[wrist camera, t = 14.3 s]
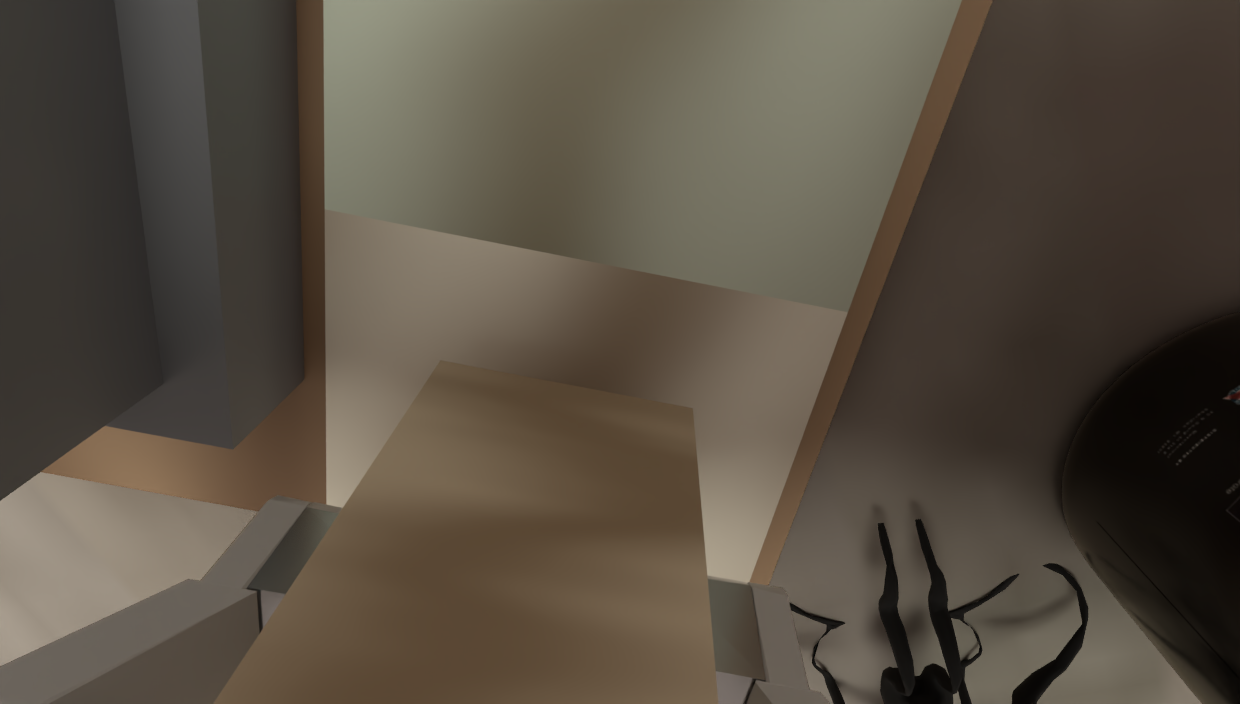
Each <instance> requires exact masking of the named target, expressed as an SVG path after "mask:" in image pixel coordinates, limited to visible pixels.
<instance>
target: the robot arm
mask: <svg viewBox="0 0 1240 704" xmlns="http://www.w3.org/2000/svg"><path fill="white" fill-rule="evenodd" d="M341 510H342V508H341V507H336V506H331V505H326V504H322V503H317V502H314V503H312V502H307V501H303V500H298V499H294V498H289V497H284V496H280V495H277V496H276V497H274V498H272V499H270V500H268V501H267V502H266V503H265V504H264V505H263V507H262V508H261V509H260V510H259V511H258V513H257V514H256V515H255V516H254V517H253V519H252V520H251V521H250V522H249V523H248V524H247V526H246V527H245V528H244V529H243V530H242V532H241V533H240V534H239V535H238V536H237V538H236V539H235V540H234V541H233V542H232V544H231V545H230V546H229V547H228V548H227V549H226V551H225V552H224V553H223V554H222V555H221V557H220V558H219V559H218V560H217V561H216V563H215V564H214V565H213V566H212V567H211V569H210V570H209V571H208V572H207V573H206V574H205V576H204V577H203V578H202V579H201V580H200V581H198V580H191V579H187V580H185V581H183V582H181V583H179V584H177V585H174V586H172V587H170V588H168V589H166V590H164V591H161V592H159V593H157V594H155V595H153V596H151V597H149V598H146V599H144V600H142V601H140V602H138V603H136V604H134V605H131V606H129V607H127V608H125V609H123V610H121V611H118V612H116V613H114V614H112V615H110V616H108V617H106V618H103V619H101V620H99V621H97V622H95V623H93V624H91V625H88V626H86V627H84V628H82V629H80V630H78V631H75V632H73V633H71V634H69V635H67V636H65V637H63V638H60V639H58V640H56V641H54V642H52V643H50V644H48V645H45V646H43V647H41V648H39V649H37V650H35V651H33V652H30V653H28V654H26V655H24V656H22V657H20V658H17V659H15V660H13V661H11V662H9V663H7V664H5V665H2V666H0V704H213V703H214V702H215V700H216V699H217V697H218V696H219V694H220V693H221V691H222V690H223V688H224V687H225V685H226V684H227V682H228V681H229V679H230V678H231V676H232V675H233V673H234V672H235V670H236V669H237V667H238V666H239V664H240V663H241V661H242V660H243V658H244V657H245V655H246V653H247V652H248V650H249V649H250V647H251V646H252V644H253V643H254V641H255V640H256V638H257V637H258V635H259V634H260V632H261V631H262V629H263V628H264V626H265V625H266V623H267V622H268V620H269V619H270V617H271V616H272V614H273V613H274V611H275V610H276V608H277V607H278V605H279V604H280V602H281V601H282V599H283V598H284V596H285V595H286V593H287V591H288V590H289V588H290V587H291V585H292V584H293V582H294V581H295V579H296V578H297V576H298V575H299V573H300V572H301V570H302V569H303V567H304V566H305V564H306V563H307V561H308V560H309V558H310V557H311V555H312V554H313V552H314V551H315V549H316V548H317V546H318V545H319V543H320V542H321V540H322V539H323V537H324V536H325V534H326V533H327V531H328V529H329V528H330V526H331V525H332V523H333V522H334V520H335V519H336V517H337V516H338V514H339V513H340V511H341ZM707 577H708V589H709V600H710V612H711V623H712V635H713V646H714V658H715V669H716V681H717V693H718V704H830V702H829V701H828V700H827V699H826V698H825V697H824V695H823V694H822V693H821V692H817V691H812V690H810V689H809V685H808V681H807V676H806V672H805V668H804V664H803V659H802V655H801V651H800V646H799V642H798V638H797V633H796V629H795V625H794V620H793V616H792V612H791V608H790V603H789V599H788V595H787V593H786V591H785V590H784V589H783V588H781V587H775V586H769V585H763V584H757V583H751V582H748V583H746V582H742V581H737V580H731V579H725V578H720V577H714V576H708V575H707Z"/></svg>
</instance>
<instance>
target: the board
mask: <svg viewBox="0 0 1240 704" xmlns="http://www.w3.org/2000/svg"><path fill="white" fill-rule="evenodd" d="M992 1H993V0H296V17H297V63H298V108H299V153H300V199H301V244H302V290H303V335H304V380H303V381H302V382H301V383H300V384H299V385H298V386H297V387H296V388H295V389H294V390H293V391H292V392H291V393H290V394H289V395H288V396H287V397H286V398H285V399H284V400H283V401H282V402H281V403H280V404H279V405H278V406H277V407H276V408H275V409H274V410H273V411H272V412H271V413H270V414H269V415H268V416H267V417H266V418H265V419H264V420H263V421H262V422H261V423H260V424H259V425H258V426H257V427H256V428H255V429H253V430H252V431H251V432H250V433H249V434H248V435H247V436H246V437H245V438H244V439H243V440H242V441H241V442H240V443H239V444H238V445H237V446H236V447H235V448H234V449H233V450H232V449H227V448H222V447H216V446H211V445H205V444H200V443H194V442H189V441H184V440H178V439H173V438H167V437H162V436H156V435H151V434H146V433H140V432H135V431H129V430H124V429H118V428H113V427H108V426H104V427H102V428H101V429H100V430H98V431H97V432H96V433H94V434H93V435H91V436H90V437H89V438H87V439H86V440H84V441H83V442H82V443H80V444H79V445H77V446H76V447H75V448H73V449H72V450H70V451H69V452H68V453H66V454H65V455H63V456H62V457H61V458H59V459H58V460H56V461H55V462H54V463H52V464H51V465H49V466H48V467H47V468H45V469H44V470H42V471H41V472H44V473H50V474H55V475H61V476H66V477H72V478H77V479H83V480H88V481H94V482H99V483H105V484H110V485H116V486H121V487H127V488H132V489H138V490H143V491H149V492H155V493H160V494H166V495H171V496H177V497H182V498H188V499H193V500H199V501H204V502H210V503H215V504H221V505H226V506H232V507H237V508H243V509H248V510H254V511H259V510H260V509H261V508H262V507H263V505H264V504H265V503H266V502H267V501H268V500H270V499H272V498H274V497H276V496H277V495H280V496H284V497H289V498H294V499H298V500H303V501H307V502H312V503H314V502H317V503H322V504H326V505H331V506H336V507H341V508H343V507H344V505H345V504H346V502H347V501H348V499H349V498H350V496H351V495H352V493H353V492H354V490H355V489H356V487H357V486H358V484H359V483H360V481H361V480H362V478H363V477H364V475H365V474H366V472H367V470H368V469H369V467H370V466H371V464H372V463H373V461H374V460H375V458H376V457H377V455H378V454H379V452H380V451H381V449H382V448H383V446H384V445H385V443H386V442H387V440H388V439H389V437H390V436H391V434H392V433H393V431H394V430H395V428H396V427H397V425H398V424H399V422H400V421H401V419H402V418H403V416H404V415H405V413H406V412H407V410H408V408H409V407H410V405H411V404H412V402H413V401H414V399H415V398H416V396H417V395H418V393H419V392H420V390H421V389H422V387H423V386H424V384H425V383H426V381H427V380H428V378H429V377H430V375H431V374H432V372H433V371H434V369H435V368H436V366H437V365H438V363H439V362H440V360H442V361H447V362H453V363H458V364H463V365H468V366H474V367H479V368H484V369H489V370H495V371H500V372H505V373H510V374H516V375H521V376H526V377H531V378H537V379H542V380H547V381H553V382H558V383H563V384H568V385H574V386H579V387H584V388H589V389H595V390H600V391H605V392H610V393H616V394H621V395H626V396H631V397H637V398H642V399H647V400H652V401H658V402H663V403H668V404H674V405H679V406H684V407H689V408H693V415H694V427H695V439H696V450H697V462H698V473H699V485H700V496H701V508H702V519H703V531H704V542H705V554H706V566H707V575H708V576H714V577H720V578H725V579H731V580H737V581H742V582H746V583H748V582H751V583H757V584H763V585H769V583H770V580H771V577H772V575H773V572H774V570H775V567H776V564H777V562H778V559H779V557H780V554H781V551H782V549H783V546H784V544H785V541H786V538H787V536H788V533H789V531H790V528H791V525H792V523H793V520H794V518H795V515H796V512H797V510H798V507H799V504H800V502H801V499H802V497H803V494H804V491H805V489H806V486H807V484H808V481H809V478H810V476H811V473H812V471H813V468H814V465H815V463H816V460H817V458H818V455H819V452H820V450H821V447H822V445H823V442H824V439H825V437H826V434H827V432H828V429H829V426H830V424H831V421H832V418H833V416H834V413H835V411H836V408H837V405H838V403H839V400H840V398H841V395H842V392H843V390H844V387H845V385H846V382H847V379H848V377H849V374H850V372H851V369H852V366H853V364H854V361H855V359H856V356H857V353H858V351H859V348H860V345H861V343H862V340H863V338H864V335H865V332H866V330H867V327H868V325H869V322H870V319H871V317H872V314H873V312H874V309H875V306H876V304H877V301H878V299H879V296H880V293H881V291H882V288H883V286H884V283H885V280H886V278H887V275H888V273H889V270H890V267H891V265H892V262H893V259H894V257H895V254H896V252H897V249H898V246H899V244H900V241H901V239H902V236H903V233H904V231H905V228H906V226H907V223H908V220H909V218H910V215H911V213H912V210H913V207H914V205H915V202H916V200H917V197H918V194H919V192H920V189H921V187H922V184H923V181H924V179H925V176H926V173H927V171H928V168H929V166H930V163H931V160H932V158H933V155H934V153H935V150H936V147H937V145H938V142H939V140H940V137H941V134H942V132H943V129H944V127H945V124H946V121H947V119H948V116H949V114H950V111H951V108H952V106H953V103H954V100H955V98H956V95H957V93H958V90H959V87H960V85H961V82H962V80H963V77H964V74H965V72H966V69H967V67H968V64H969V61H970V59H971V56H972V54H973V51H974V48H975V46H976V43H977V41H978V38H979V35H980V33H981V30H982V28H983V25H984V22H985V20H986V17H987V14H988V12H989V9H990V7H991V4H992Z"/></svg>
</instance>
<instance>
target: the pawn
mask: <svg viewBox="0 0 1240 704" xmlns="http://www.w3.org/2000/svg"><path fill="white" fill-rule="evenodd" d="M213 704H718V693H717V681H716V669H715V658H714V646H713V635H712V623H711V612H710V600H709V589H708V577H707V566H706V554H705V542H704V531H703V519H702V508H701V496H700V485H699V473H698V462H697V450H696V439H695V427H694V415H693V408H689V407H684V406H679V405H674V404H668V403H663V402H658V401H652V400H647V399H642V398H637V397H631V396H626V395H621V394H616V393H610V392H605V391H600V390H595V389H589V388H584V387H579V386H574V385H568V384H563V383H558V382H553V381H547V380H542V379H537V378H531V377H526V376H521V375H516V374H510V373H505V372H500V371H495V370H489V369H484V368H479V367H474V366H468V365H463V364H458V363H453V362H447V361H442V360H440V362H439V363H438V365H437V366H436V368H435V369H434V371H433V372H432V374H431V375H430V377H429V378H428V380H427V381H426V383H425V384H424V386H423V387H422V389H421V390H420V392H419V393H418V395H417V396H416V398H415V399H414V401H413V402H412V404H411V405H410V407H409V408H408V410H407V412H406V413H405V415H404V416H403V418H402V419H401V421H400V422H399V424H398V425H397V427H396V428H395V430H394V431H393V433H392V434H391V436H390V437H389V439H388V440H387V442H386V443H385V445H384V446H383V448H382V449H381V451H380V452H379V454H378V455H377V457H376V458H375V460H374V461H373V463H372V464H371V466H370V467H369V469H368V470H367V472H366V474H365V475H364V477H363V478H362V480H361V481H360V483H359V484H358V486H357V487H356V489H355V490H354V492H353V493H352V495H351V496H350V498H349V499H348V501H347V502H346V504H345V505H344V507H343V508H342V510H341V511H340V513H339V514H338V516H337V517H336V519H335V520H334V522H333V523H332V525H331V526H330V528H329V529H328V531H327V533H326V534H325V536H324V537H323V539H322V540H321V542H320V543H319V545H318V546H317V548H316V549H315V551H314V552H313V554H312V555H311V557H310V558H309V560H308V561H307V563H306V564H305V566H304V567H303V569H302V570H301V572H300V573H299V575H298V576H297V578H296V579H295V581H294V582H293V584H292V585H291V587H290V588H289V590H288V591H287V593H286V595H285V596H284V598H283V599H282V601H281V602H280V604H279V605H278V607H277V608H276V610H275V611H274V613H273V614H272V616H271V617H270V619H269V620H268V622H267V623H266V625H265V626H264V628H263V629H262V631H261V632H260V634H259V635H258V637H257V638H256V640H255V641H254V643H253V644H252V646H251V647H250V649H249V650H248V652H247V653H246V655H245V657H244V658H243V660H242V661H241V663H240V664H239V666H238V667H237V669H236V670H235V672H234V673H233V675H232V676H231V678H230V679H229V681H228V682H227V684H226V685H225V687H224V688H223V690H222V691H221V693H220V694H219V696H218V697H217V699H216V700H215V702H214V703H213Z"/></svg>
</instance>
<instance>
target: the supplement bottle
mask: <svg viewBox="0 0 1240 704" xmlns="http://www.w3.org/2000/svg"><path fill="white" fill-rule="evenodd" d="M1062 506H1063V512H1064V517H1065V520H1066V523H1067V526H1068V529H1069V532H1070V535H1071V537H1072V539H1073V541H1074V543H1075V545H1076V546H1077V548H1078V549H1079V551H1080V552H1081V554H1082V555H1083V557H1084V558H1085V560H1086V561H1087V563H1088V564H1089V565H1090V567H1091V568H1092V569H1093V570H1094V572H1095V573H1096V574H1097V575H1098V577H1099V578H1100V579H1101V581H1102V582H1103V583H1104V584H1105V585H1106V587H1107V588H1108V589H1109V590H1110V592H1111V593H1112V594H1113V596H1114V597H1115V598H1116V600H1117V601H1118V602H1119V603H1120V604H1121V606H1122V607H1123V608H1124V609H1125V611H1126V612H1127V613H1128V614H1129V615H1130V617H1131V618H1132V619H1133V620H1134V622H1135V623H1136V624H1137V625H1138V626H1139V628H1140V629H1141V630H1142V631H1143V633H1144V634H1145V635H1146V636H1147V637H1148V639H1149V640H1150V641H1151V642H1152V644H1153V645H1154V646H1155V647H1156V648H1157V650H1158V651H1159V652H1160V653H1161V654H1162V656H1163V657H1164V658H1165V659H1166V661H1167V662H1168V663H1169V664H1170V665H1171V667H1172V668H1173V669H1174V670H1175V672H1176V673H1177V674H1178V675H1179V676H1180V678H1181V679H1182V680H1183V681H1184V683H1185V684H1186V685H1187V686H1188V687H1189V689H1190V690H1191V691H1192V692H1193V693H1194V695H1195V696H1196V697H1197V698H1198V700H1199V701H1200V702H1201V703H1202V704H1240V312H1236V313H1233V314H1230V315H1226V316H1223V317H1220V318H1218V319H1215V320H1213V321H1210V322H1207V323H1205V324H1202V325H1200V326H1197V327H1195V328H1193V329H1191V330H1189V331H1187V332H1185V333H1182V334H1181V335H1179V336H1177V337H1175V338H1173V339H1171V340H1170V341H1168V342H1166V343H1164V344H1163V345H1161V346H1160V347H1158V348H1157V349H1155V350H1153V351H1152V352H1150V353H1149V354H1147V355H1146V356H1145V357H1143V358H1142V359H1141V360H1139V361H1138V362H1137V363H1135V364H1134V365H1133V366H1132V367H1130V368H1129V369H1128V370H1127V371H1126V372H1125V373H1124V374H1122V375H1121V376H1120V377H1119V378H1118V379H1117V380H1116V381H1115V382H1114V383H1113V384H1112V385H1111V386H1110V387H1109V388H1108V389H1107V390H1106V391H1105V392H1104V394H1103V395H1102V396H1101V397H1100V398H1099V399H1098V401H1097V402H1096V403H1095V404H1094V406H1093V407H1092V409H1091V410H1090V411H1089V413H1088V414H1087V416H1086V417H1085V419H1084V421H1083V422H1082V424H1081V426H1080V428H1079V429H1078V431H1077V433H1076V435H1075V438H1074V440H1073V442H1072V444H1071V447H1070V450H1069V453H1068V456H1067V459H1066V462H1065V467H1064V472H1063V480H1062Z"/></svg>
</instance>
